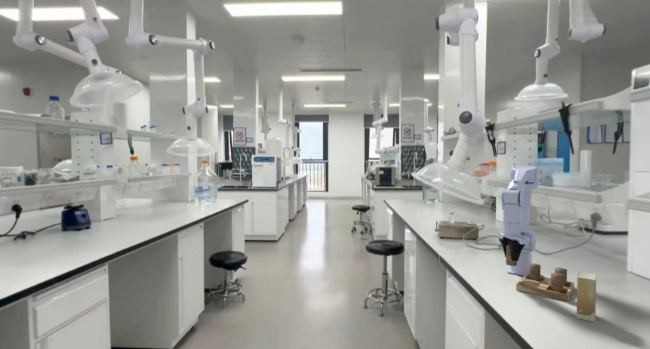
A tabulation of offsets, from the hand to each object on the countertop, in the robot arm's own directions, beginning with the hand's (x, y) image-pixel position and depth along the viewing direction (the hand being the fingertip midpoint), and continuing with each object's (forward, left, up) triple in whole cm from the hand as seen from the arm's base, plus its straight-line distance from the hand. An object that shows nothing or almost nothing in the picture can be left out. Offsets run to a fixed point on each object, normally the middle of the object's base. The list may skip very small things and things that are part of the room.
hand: (511, 259), depth 127 cm
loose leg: (0, 0, -2) cm, 2 cm away
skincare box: (+16, +23, -9) cm, 30 cm away
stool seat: (-2, +10, -9) cm, 14 cm away
